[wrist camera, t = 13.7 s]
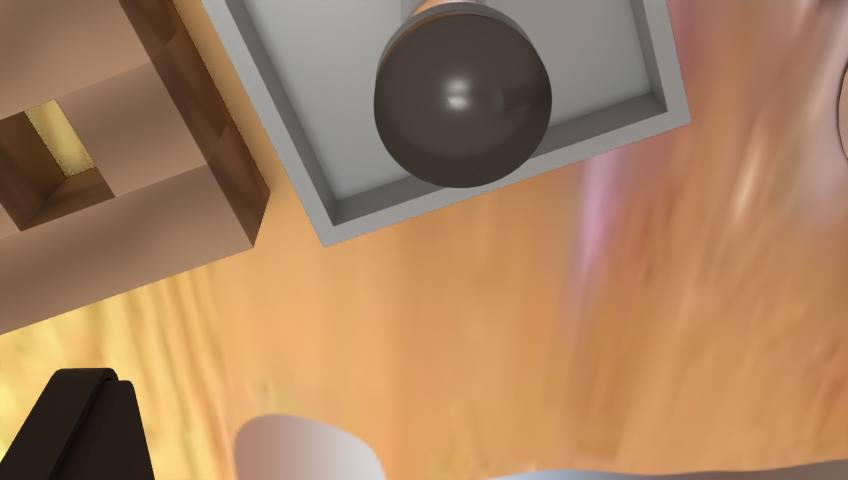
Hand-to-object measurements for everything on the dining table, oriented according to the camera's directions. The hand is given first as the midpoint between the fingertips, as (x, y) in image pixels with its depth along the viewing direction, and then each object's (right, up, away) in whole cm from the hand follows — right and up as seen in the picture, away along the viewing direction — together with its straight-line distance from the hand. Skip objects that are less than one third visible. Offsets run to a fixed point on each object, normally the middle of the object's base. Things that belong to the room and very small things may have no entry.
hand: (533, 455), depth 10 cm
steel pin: (-1, +12, +22) cm, 25 cm away
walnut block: (-16, +8, +25) cm, 31 cm away
